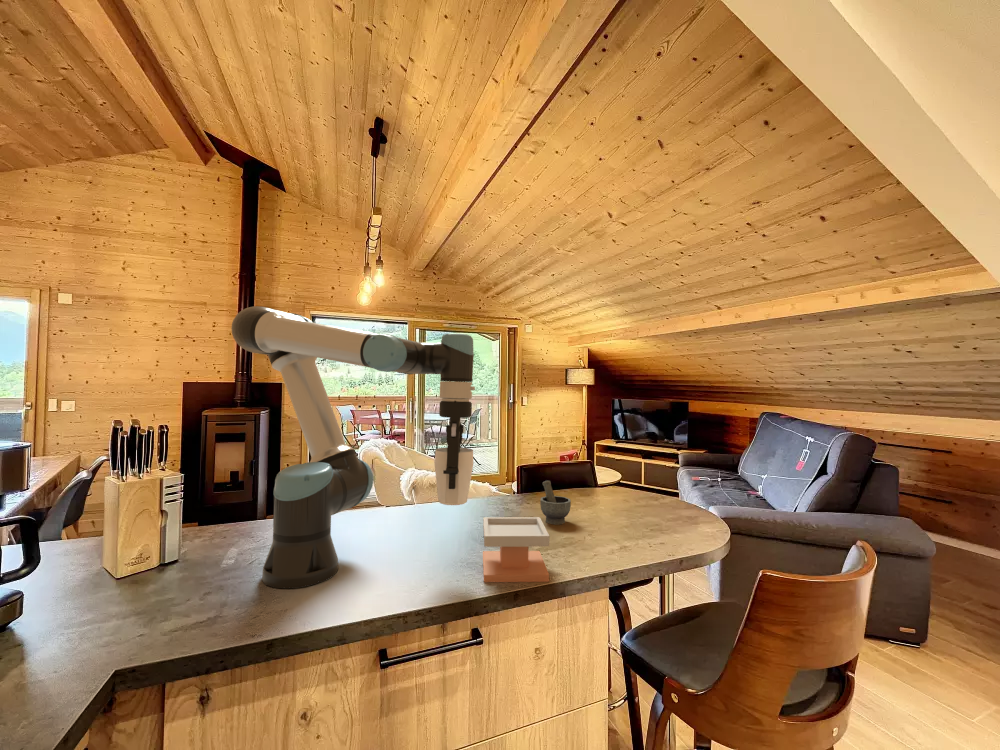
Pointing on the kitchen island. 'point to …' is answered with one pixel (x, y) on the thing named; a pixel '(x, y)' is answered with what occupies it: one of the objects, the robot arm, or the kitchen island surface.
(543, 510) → the mortar and pestle
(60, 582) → the kitchen island surface
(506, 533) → the stand
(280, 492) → the robot arm
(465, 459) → the cup
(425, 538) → the kitchen island surface
